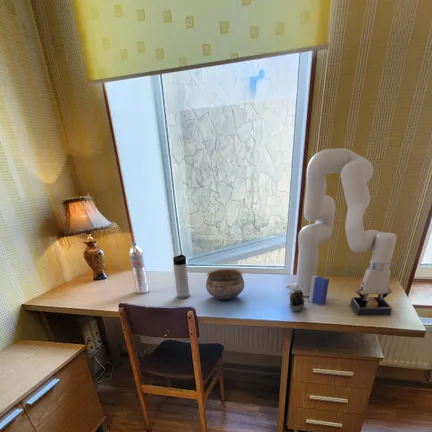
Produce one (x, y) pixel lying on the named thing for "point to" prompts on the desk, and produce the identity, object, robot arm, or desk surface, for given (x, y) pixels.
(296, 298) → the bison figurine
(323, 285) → the walkman
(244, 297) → the desk surface
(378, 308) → the square open-top storage box
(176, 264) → the travel mug
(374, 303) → the potato
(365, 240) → the robot arm
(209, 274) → the cooking pot
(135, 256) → the water bottle
